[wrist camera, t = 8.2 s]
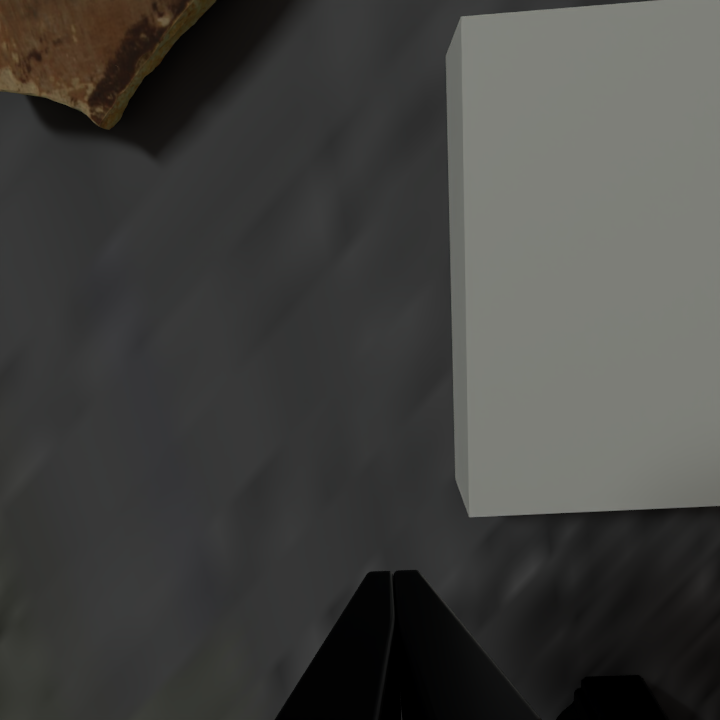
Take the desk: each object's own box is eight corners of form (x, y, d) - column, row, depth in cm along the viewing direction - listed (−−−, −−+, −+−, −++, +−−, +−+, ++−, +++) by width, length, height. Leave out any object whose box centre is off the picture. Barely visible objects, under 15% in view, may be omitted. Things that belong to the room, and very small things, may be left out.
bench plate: (699, 467, 20) (754, 504, 17) (455, 478, 21) (469, 517, 18) (740, 32, 17) (818, -13, 14) (445, 56, 17) (461, 16, 14)
